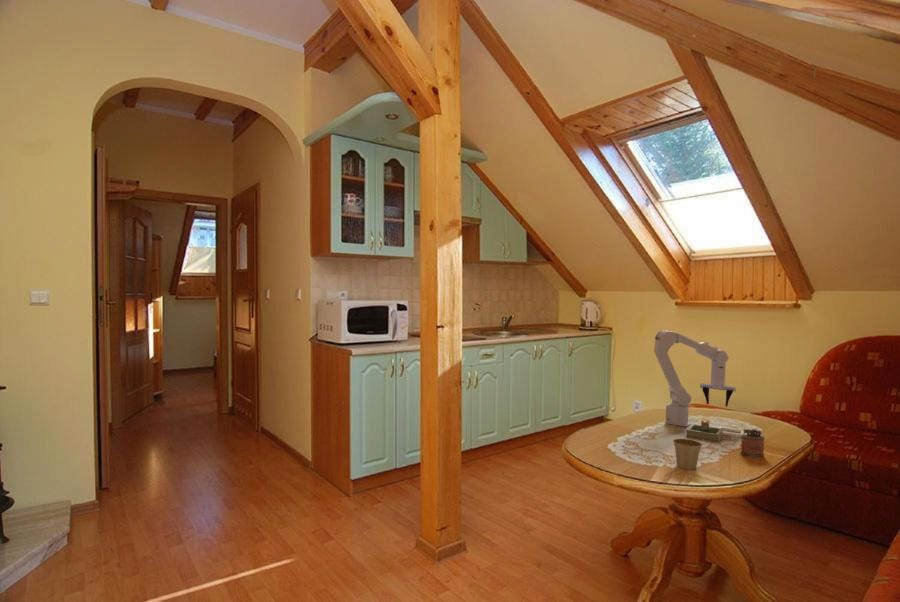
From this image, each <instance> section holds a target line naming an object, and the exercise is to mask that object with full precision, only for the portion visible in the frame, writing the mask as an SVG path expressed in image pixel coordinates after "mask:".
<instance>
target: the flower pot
mask: <svg viewBox="0 0 900 602" xmlns="http://www.w3.org/2000/svg"><path fill="white" fill-rule="evenodd" d="M672 442H673V446H674V449H675V451H674V452H675V461H676V466H677V467H679V468H680V469H683V470H689V471H690V470H697V466H698V461H699V455H700V453H701V452H700V451H701V450H702V447H703V443H701V442H700V441H697V440H694V439H690V438H674V439H672Z"/></svg>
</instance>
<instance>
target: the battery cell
mask: <svg viewBox="0 0 900 602" xmlns="http://www.w3.org/2000/svg"><path fill="white" fill-rule="evenodd" d="M700 425H701V432H707V433H709V427H710V421H709V420H707V419H701V420H700Z"/></svg>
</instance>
